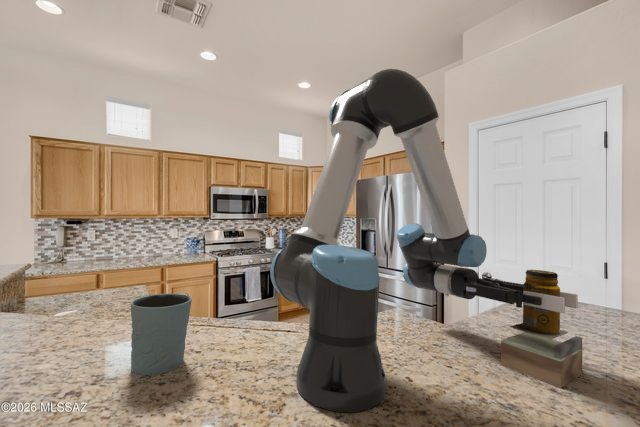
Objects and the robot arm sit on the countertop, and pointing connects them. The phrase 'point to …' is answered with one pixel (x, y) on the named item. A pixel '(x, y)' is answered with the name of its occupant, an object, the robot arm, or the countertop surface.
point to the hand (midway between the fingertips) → (570, 303)
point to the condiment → (538, 318)
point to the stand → (543, 357)
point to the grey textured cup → (159, 332)
